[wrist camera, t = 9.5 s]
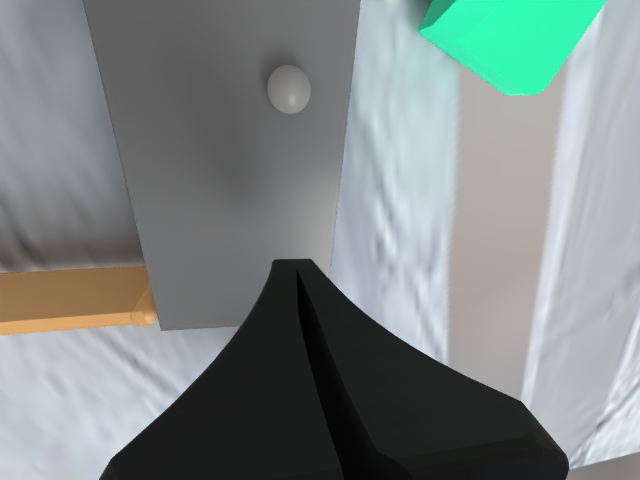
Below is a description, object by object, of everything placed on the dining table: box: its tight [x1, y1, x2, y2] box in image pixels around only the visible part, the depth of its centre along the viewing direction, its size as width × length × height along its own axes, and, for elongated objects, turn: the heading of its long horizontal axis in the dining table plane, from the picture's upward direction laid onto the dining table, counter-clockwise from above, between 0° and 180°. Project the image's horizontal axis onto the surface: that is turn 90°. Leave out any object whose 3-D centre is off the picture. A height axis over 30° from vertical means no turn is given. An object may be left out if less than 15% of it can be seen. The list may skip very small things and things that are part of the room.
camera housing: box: [83, 0, 361, 331], centre depth 14 cm, size 17×9×6 cm, turn 175°
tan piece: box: [0, 266, 158, 335], centre depth 16 cm, size 13×2×4 cm, turn 88°
